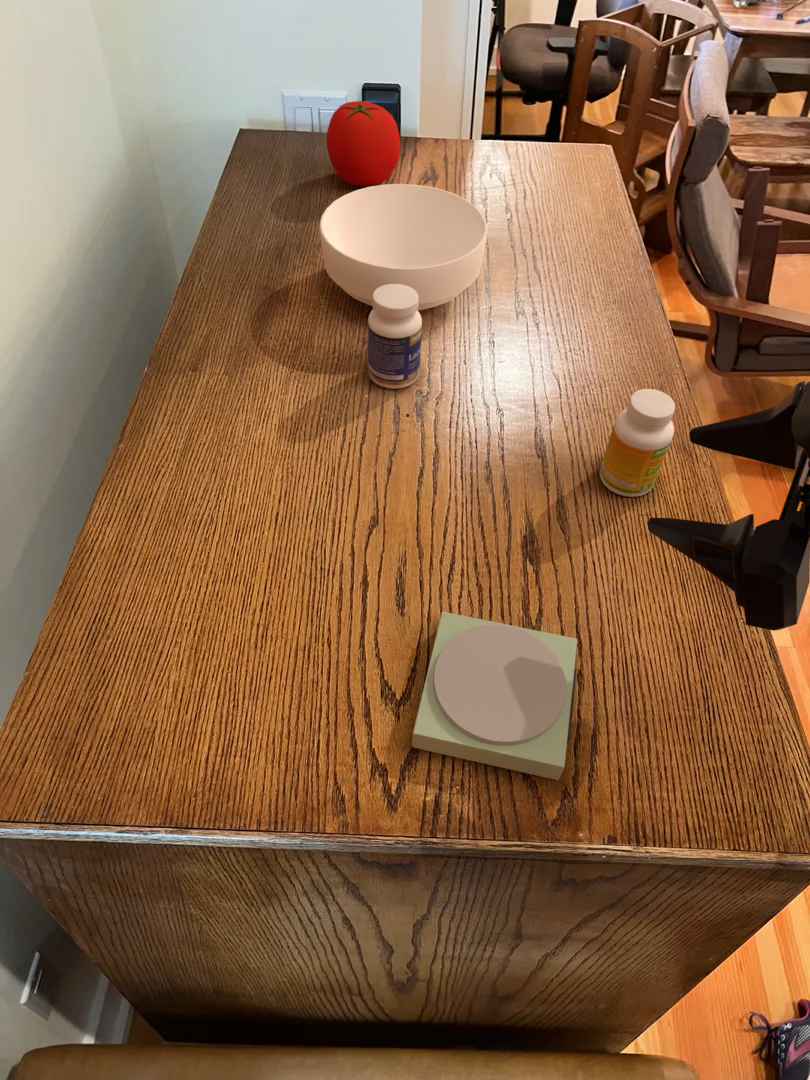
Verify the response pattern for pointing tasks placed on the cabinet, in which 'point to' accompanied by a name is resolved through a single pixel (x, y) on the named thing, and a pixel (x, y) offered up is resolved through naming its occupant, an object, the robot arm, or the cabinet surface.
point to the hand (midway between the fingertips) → (670, 478)
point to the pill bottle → (394, 336)
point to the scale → (498, 696)
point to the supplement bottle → (638, 443)
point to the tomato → (363, 143)
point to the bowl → (403, 242)
